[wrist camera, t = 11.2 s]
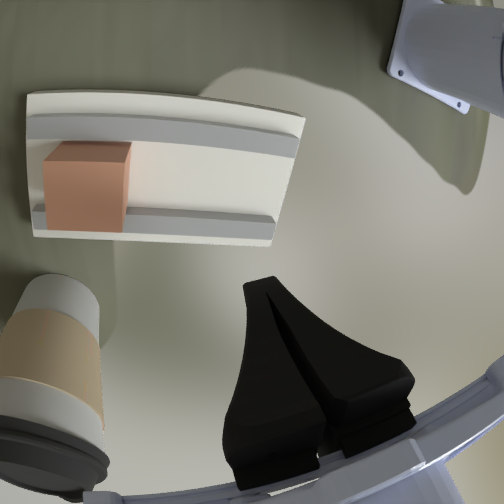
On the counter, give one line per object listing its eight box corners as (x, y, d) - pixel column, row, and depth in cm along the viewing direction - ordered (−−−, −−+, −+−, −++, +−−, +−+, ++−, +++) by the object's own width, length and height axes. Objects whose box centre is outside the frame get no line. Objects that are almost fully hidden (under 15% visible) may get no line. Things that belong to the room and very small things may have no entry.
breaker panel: (296, 113, 19) (313, 121, 17) (264, 235, 23) (274, 255, 22) (36, 91, 14) (20, 97, 12) (40, 225, 18) (29, 245, 16)
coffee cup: (-6, 296, 20) (-54, 461, 8) (55, 239, 19) (-3, 448, 7) (67, 355, 26) (58, 508, 14) (134, 315, 25) (145, 500, 13)
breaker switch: (131, 142, 16) (124, 162, 13) (127, 202, 18) (121, 232, 15) (63, 140, 15) (42, 161, 12) (64, 199, 16) (47, 230, 14)
